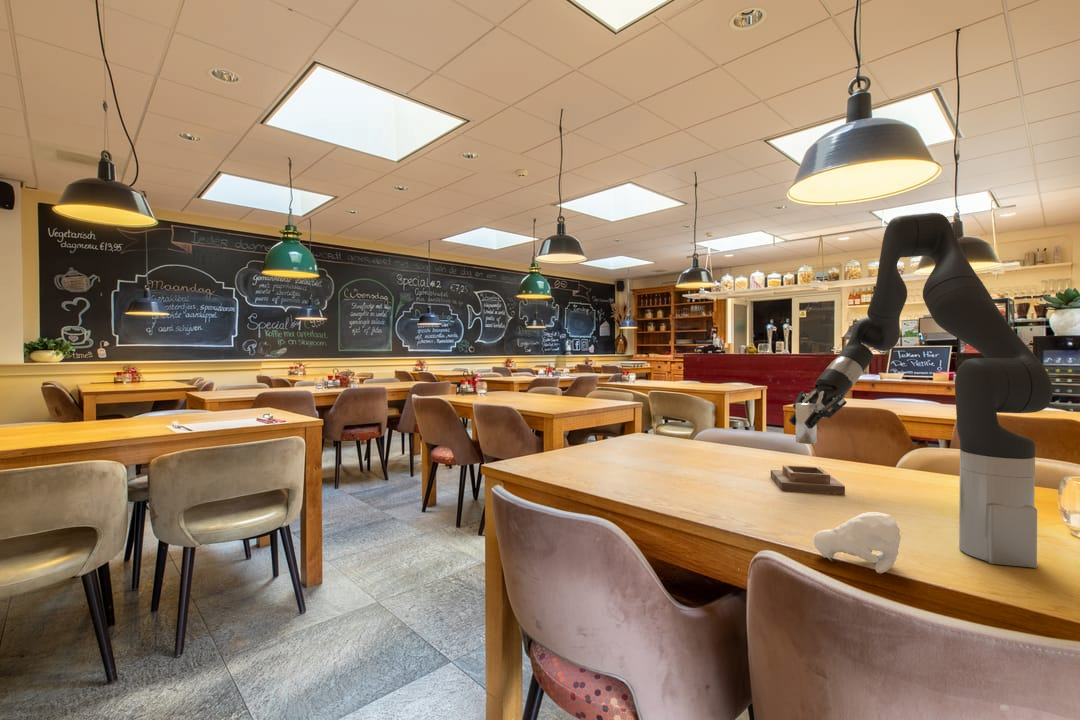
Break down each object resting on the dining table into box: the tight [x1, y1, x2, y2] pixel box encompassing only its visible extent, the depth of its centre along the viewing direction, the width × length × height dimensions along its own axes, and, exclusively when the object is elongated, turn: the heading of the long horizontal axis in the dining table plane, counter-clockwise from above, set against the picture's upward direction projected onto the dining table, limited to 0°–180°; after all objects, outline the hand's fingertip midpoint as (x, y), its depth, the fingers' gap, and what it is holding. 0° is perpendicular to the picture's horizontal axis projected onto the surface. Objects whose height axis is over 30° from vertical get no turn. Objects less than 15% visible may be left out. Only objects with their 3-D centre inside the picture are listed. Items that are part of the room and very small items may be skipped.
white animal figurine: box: [813, 511, 902, 574], centre depth 79 cm, size 6×8×12 cm
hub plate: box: [770, 464, 846, 495], centre depth 126 cm, size 14×14×4 cm
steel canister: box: [795, 402, 818, 445], centre depth 126 cm, size 5×5×10 cm
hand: (799, 424), depth 126 cm, fingers closed on steel canister, 4 cm apart
